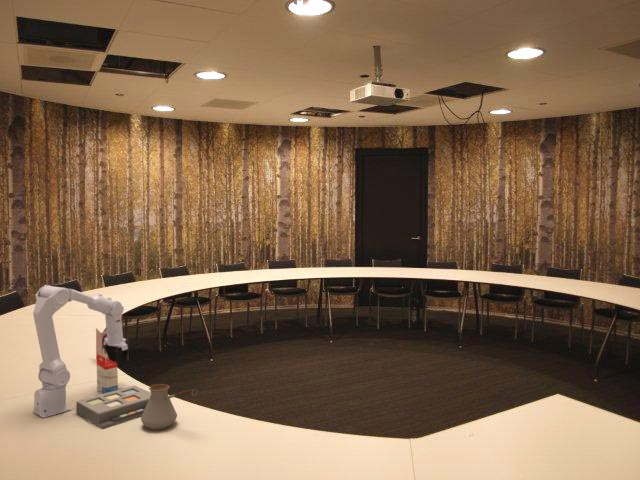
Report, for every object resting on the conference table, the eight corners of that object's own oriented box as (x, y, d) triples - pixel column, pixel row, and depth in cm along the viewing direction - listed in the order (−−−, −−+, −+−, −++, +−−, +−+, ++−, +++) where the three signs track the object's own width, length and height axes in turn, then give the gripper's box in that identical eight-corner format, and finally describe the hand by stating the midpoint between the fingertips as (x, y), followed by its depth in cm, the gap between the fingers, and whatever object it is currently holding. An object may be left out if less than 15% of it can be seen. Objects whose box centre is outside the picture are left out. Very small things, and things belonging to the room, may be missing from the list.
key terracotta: (128, 407, 178) (128, 402, 178) (122, 403, 181) (122, 399, 180) (140, 403, 181) (140, 399, 181) (133, 400, 184) (133, 396, 184)
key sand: (110, 404, 179) (110, 400, 179) (104, 401, 182) (104, 397, 182) (122, 401, 183) (122, 397, 183) (116, 398, 186) (116, 394, 186)
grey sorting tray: (102, 428, 165) (102, 415, 165) (76, 413, 177) (76, 401, 177) (162, 409, 182) (162, 397, 182) (134, 396, 194) (134, 385, 194)
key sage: (92, 410, 174) (92, 405, 174) (86, 406, 177) (86, 402, 177) (104, 406, 178) (104, 402, 178) (98, 403, 181) (98, 399, 181)
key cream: (111, 412, 173) (111, 408, 173) (104, 408, 176) (104, 404, 176) (123, 408, 176) (123, 404, 176) (116, 405, 179) (116, 401, 179)
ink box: (118, 392, 198) (117, 355, 197) (105, 395, 195) (105, 358, 194) (108, 386, 204) (108, 350, 203) (96, 390, 200) (95, 353, 199)
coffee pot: (133, 427, 167) (133, 382, 166) (159, 415, 177) (159, 373, 176) (182, 442, 157) (182, 395, 156) (207, 429, 167) (207, 384, 166)
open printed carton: (102, 365, 232) (102, 333, 231) (86, 365, 232) (86, 332, 231) (113, 358, 244) (113, 327, 243) (98, 357, 244) (98, 326, 243)
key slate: (127, 399, 184) (127, 395, 184) (121, 396, 187) (121, 392, 187) (138, 396, 188) (138, 392, 188) (132, 393, 191) (132, 389, 191)
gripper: (133, 331, 198) (136, 364, 200) (115, 324, 207) (118, 356, 209) (116, 336, 193) (119, 370, 195) (98, 329, 202) (101, 361, 204)
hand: (117, 363), depth 202 cm, fingers open, 7 cm apart
